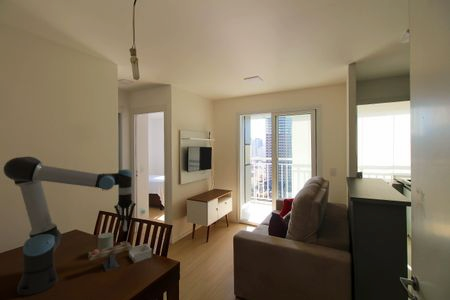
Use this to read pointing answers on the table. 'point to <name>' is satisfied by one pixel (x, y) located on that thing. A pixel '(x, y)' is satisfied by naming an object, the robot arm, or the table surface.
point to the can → (105, 241)
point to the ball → (95, 252)
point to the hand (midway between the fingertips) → (124, 230)
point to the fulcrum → (110, 263)
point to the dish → (140, 253)
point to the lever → (111, 250)
